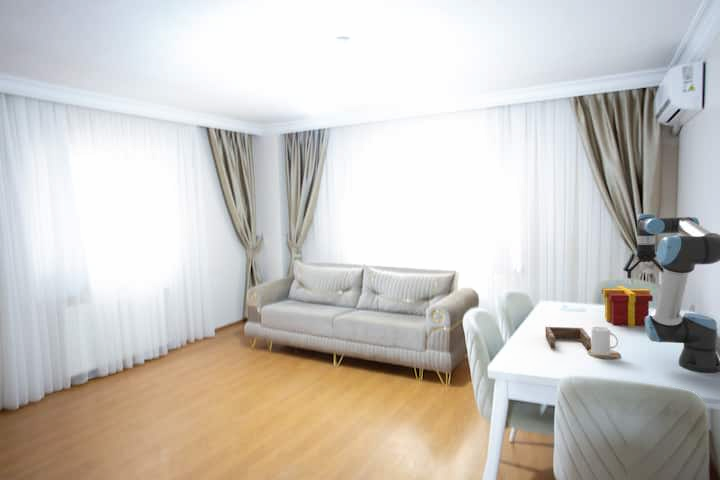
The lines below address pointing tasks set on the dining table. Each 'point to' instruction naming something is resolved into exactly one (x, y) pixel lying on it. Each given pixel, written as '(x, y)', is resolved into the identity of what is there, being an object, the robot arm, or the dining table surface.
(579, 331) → the cradle
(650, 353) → the dining table surface
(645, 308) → the gift box
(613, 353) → the coaster
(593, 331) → the mug
